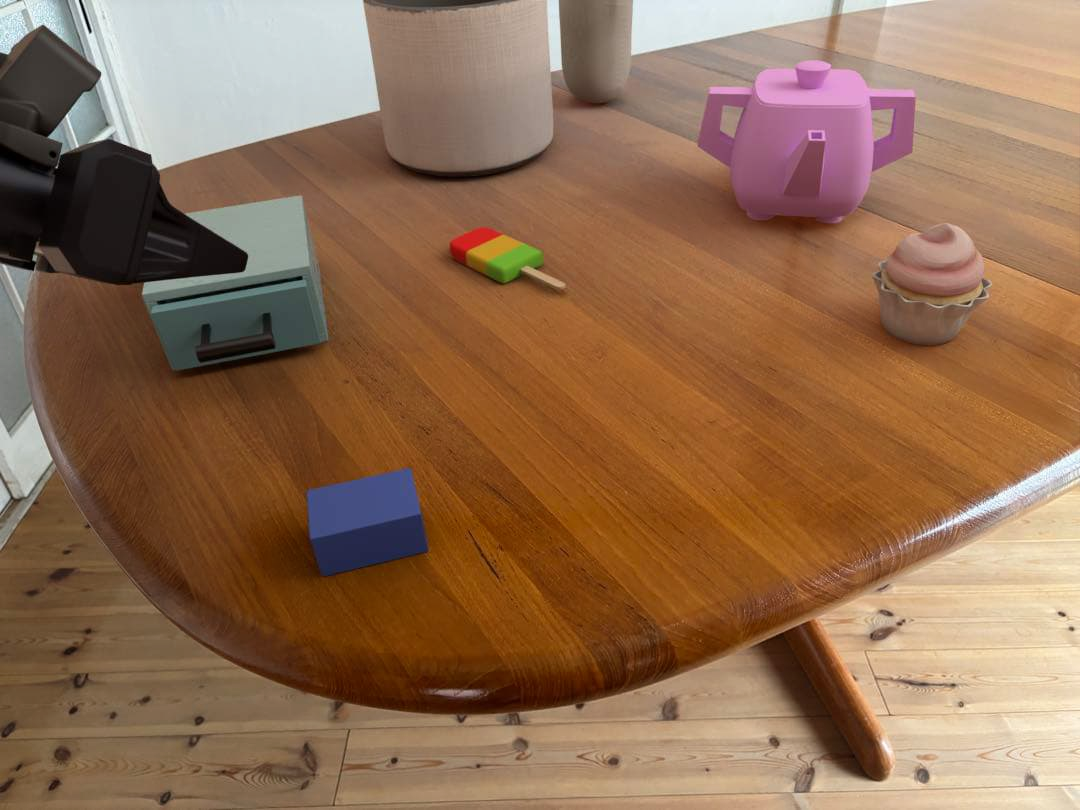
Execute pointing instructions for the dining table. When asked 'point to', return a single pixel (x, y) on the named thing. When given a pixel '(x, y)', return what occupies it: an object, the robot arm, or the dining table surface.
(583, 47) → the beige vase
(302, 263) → the cabinet
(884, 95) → the teapot
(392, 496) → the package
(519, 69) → the planter
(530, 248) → the popsicle
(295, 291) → the drawer
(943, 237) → the cupcake
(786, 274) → the dining table surface
